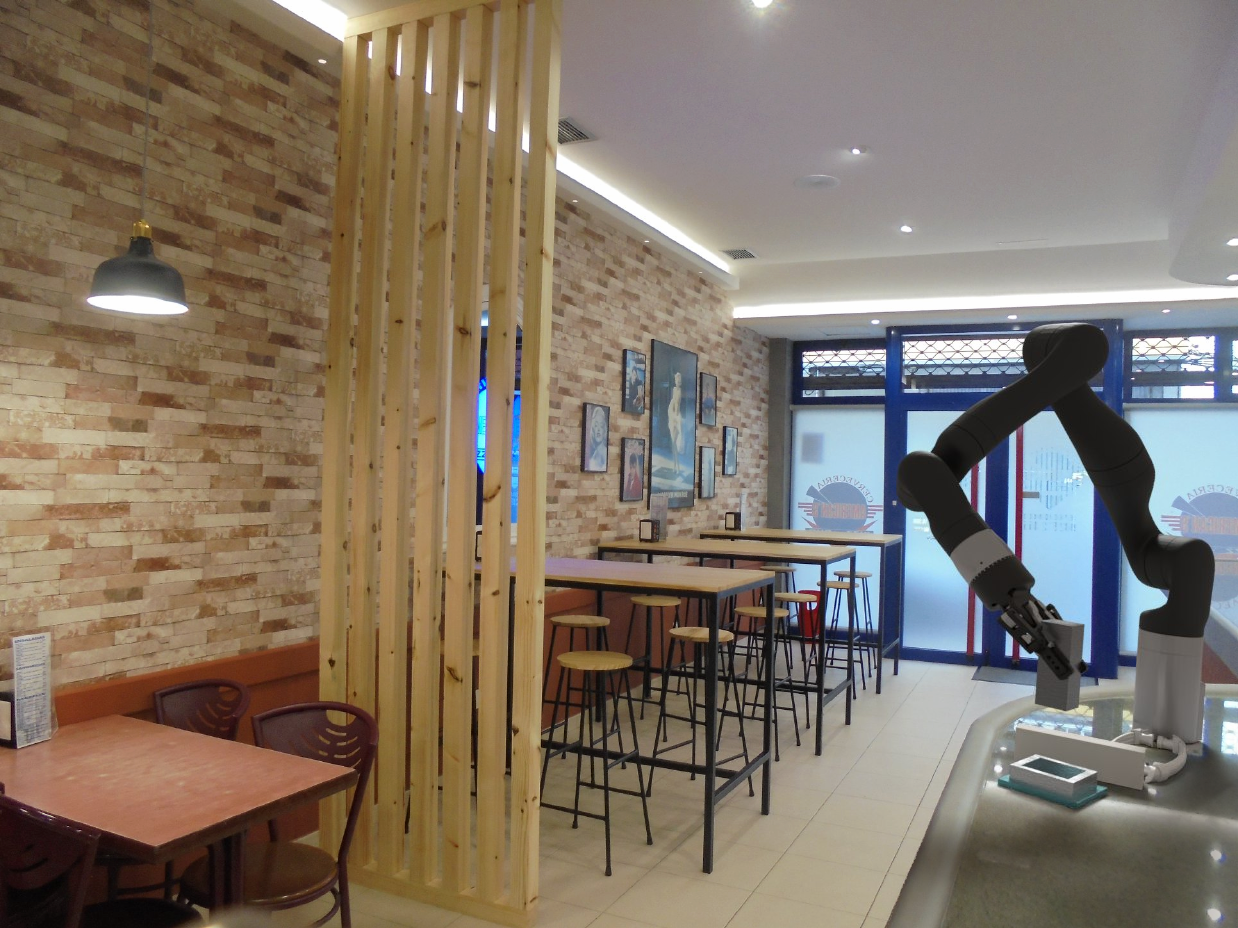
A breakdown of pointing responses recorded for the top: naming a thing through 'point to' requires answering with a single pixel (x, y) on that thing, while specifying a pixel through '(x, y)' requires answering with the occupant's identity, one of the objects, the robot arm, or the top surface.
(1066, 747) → the door edge
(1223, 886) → the top surface
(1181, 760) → the door handle
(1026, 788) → the keeper
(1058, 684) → the block
